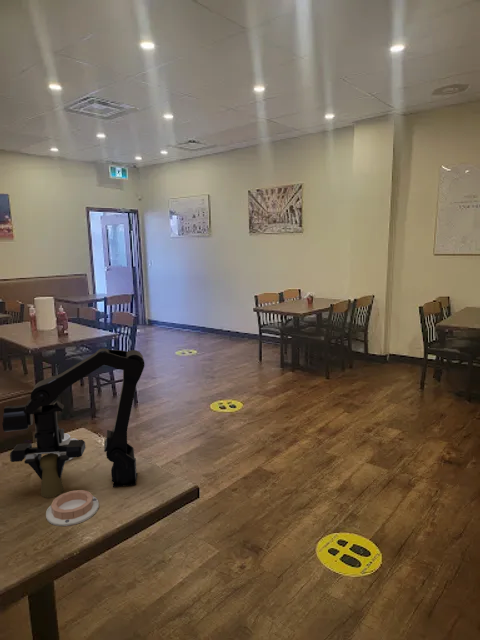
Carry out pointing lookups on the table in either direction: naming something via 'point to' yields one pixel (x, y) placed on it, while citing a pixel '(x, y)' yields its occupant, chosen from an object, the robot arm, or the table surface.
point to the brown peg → (50, 476)
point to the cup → (66, 442)
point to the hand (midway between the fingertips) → (51, 478)
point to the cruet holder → (72, 508)
